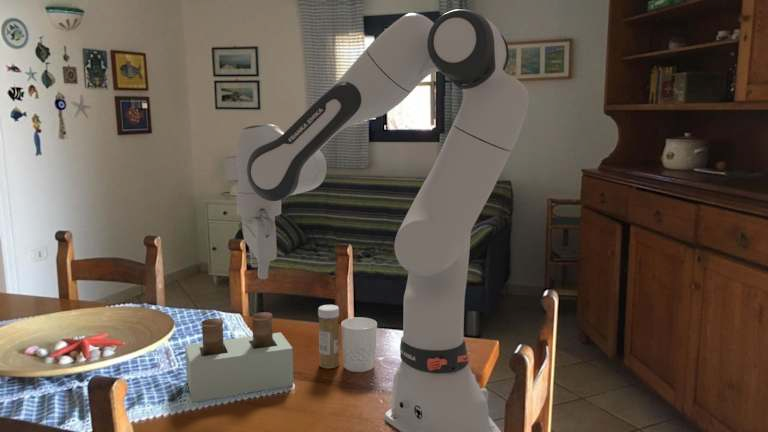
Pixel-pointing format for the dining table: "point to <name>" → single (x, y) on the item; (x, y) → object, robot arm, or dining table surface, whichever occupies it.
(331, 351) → the sprinkles bottle
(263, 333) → the peg
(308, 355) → the dining table surface
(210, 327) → the peg
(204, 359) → the block
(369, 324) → the white cup
